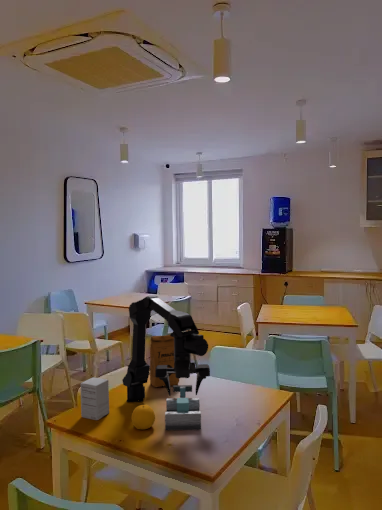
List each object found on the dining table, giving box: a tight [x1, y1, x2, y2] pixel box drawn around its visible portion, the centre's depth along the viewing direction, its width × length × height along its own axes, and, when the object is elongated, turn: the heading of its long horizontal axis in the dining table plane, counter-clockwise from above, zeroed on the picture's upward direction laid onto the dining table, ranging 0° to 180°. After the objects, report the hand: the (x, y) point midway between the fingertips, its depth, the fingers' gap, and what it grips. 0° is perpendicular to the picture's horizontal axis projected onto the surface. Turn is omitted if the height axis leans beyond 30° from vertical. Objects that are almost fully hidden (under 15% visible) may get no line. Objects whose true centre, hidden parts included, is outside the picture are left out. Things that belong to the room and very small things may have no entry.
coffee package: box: [149, 334, 180, 388], centre depth 188 cm, size 10×12×22 cm
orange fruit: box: [130, 404, 156, 430], centre depth 145 cm, size 8×8×8 cm
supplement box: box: [80, 377, 110, 421], centre depth 156 cm, size 7×7×13 cm
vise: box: [164, 408, 202, 431], centre depth 152 cm, size 12×18×5 cm, turn 1°
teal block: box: [176, 397, 189, 412], centre depth 149 cm, size 5×4×6 cm
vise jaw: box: [166, 384, 200, 411], centre depth 159 cm, size 12×6×7 cm, turn 91°
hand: (183, 395), depth 149 cm, fingers open, 9 cm apart
